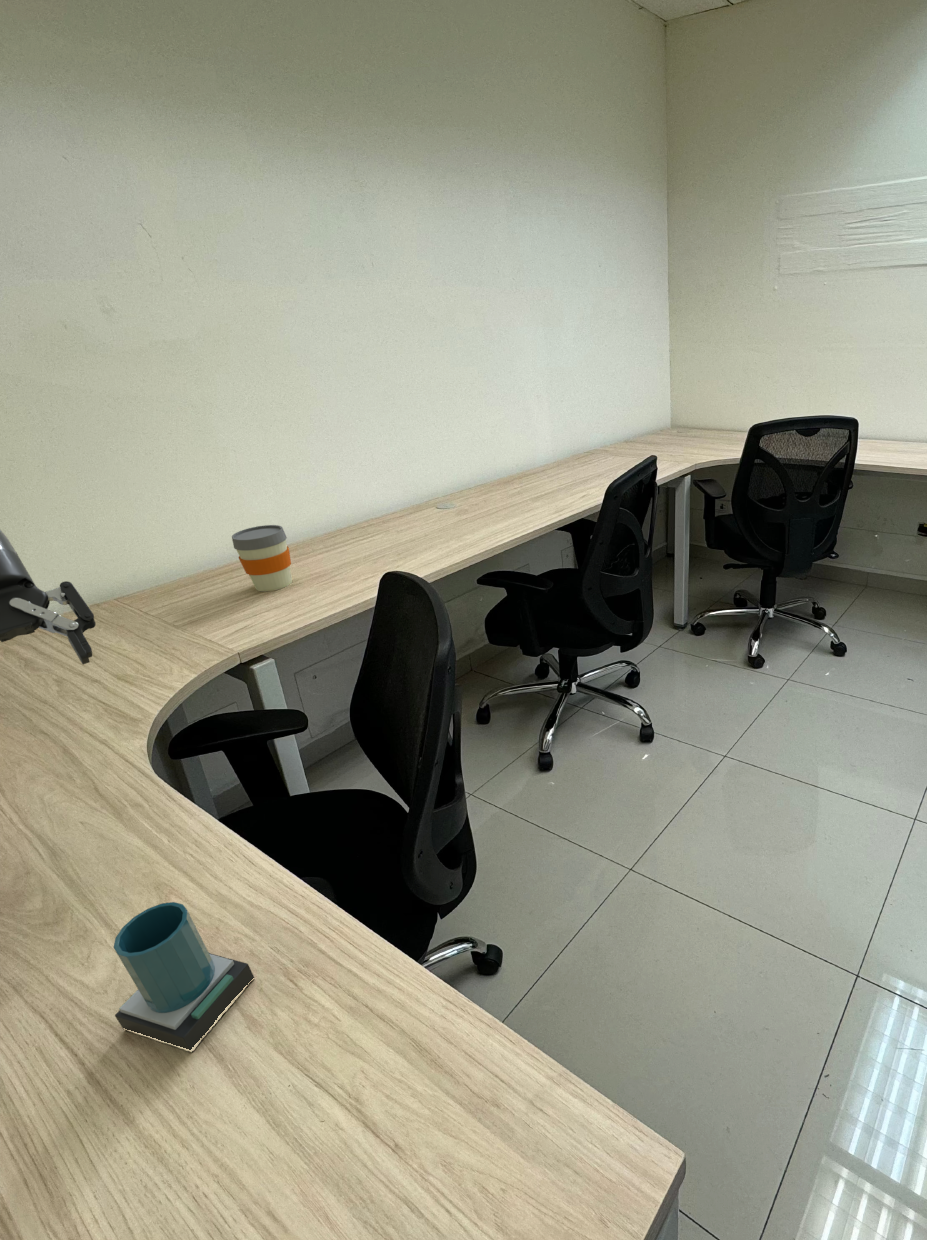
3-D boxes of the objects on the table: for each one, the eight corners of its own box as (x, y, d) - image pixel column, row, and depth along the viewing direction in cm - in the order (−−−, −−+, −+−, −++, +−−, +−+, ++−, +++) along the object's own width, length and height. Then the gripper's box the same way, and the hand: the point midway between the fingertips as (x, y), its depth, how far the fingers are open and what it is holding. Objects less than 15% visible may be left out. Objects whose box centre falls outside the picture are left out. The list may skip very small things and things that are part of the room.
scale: (123, 1030, 66) (111, 1011, 64) (191, 960, 73) (181, 941, 71) (192, 1053, 63) (180, 1034, 62) (255, 978, 70) (246, 959, 69)
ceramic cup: (133, 1005, 65) (98, 948, 61) (185, 952, 70) (156, 897, 66) (178, 1019, 63) (146, 962, 60) (228, 964, 68) (201, 908, 65)
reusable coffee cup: (237, 592, 171) (218, 538, 165) (274, 574, 182) (258, 523, 176) (274, 596, 168) (256, 541, 161) (309, 577, 178) (294, 525, 172)
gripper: (-119, 567, 69) (-50, 691, 67) (47, 530, 79) (111, 638, 77) (-97, 600, 75) (-33, 716, 73) (56, 562, 84) (116, 663, 82)
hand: (41, 676), depth 75 cm, fingers open, 8 cm apart
